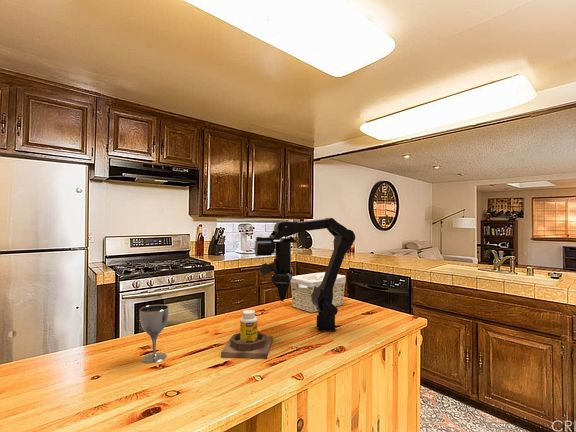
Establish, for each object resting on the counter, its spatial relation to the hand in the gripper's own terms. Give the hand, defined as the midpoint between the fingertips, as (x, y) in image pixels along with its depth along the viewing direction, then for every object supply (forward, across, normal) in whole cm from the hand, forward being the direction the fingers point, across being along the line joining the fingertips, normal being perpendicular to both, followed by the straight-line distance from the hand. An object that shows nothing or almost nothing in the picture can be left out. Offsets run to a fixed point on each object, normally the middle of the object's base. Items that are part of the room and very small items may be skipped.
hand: (283, 297), depth 114 cm
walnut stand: (+13, +14, -10) cm, 22 cm away
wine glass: (+13, +23, -37) cm, 46 cm away
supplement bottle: (+12, +14, -10) cm, 21 cm away
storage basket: (+13, -37, +14) cm, 42 cm away
